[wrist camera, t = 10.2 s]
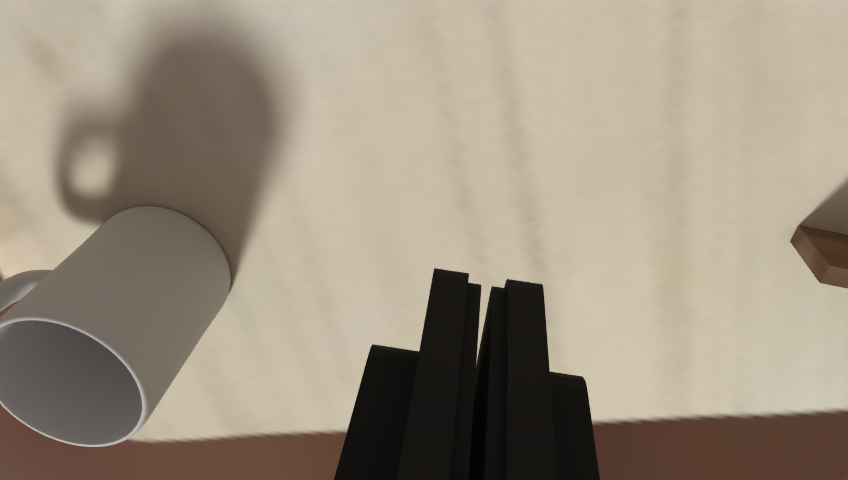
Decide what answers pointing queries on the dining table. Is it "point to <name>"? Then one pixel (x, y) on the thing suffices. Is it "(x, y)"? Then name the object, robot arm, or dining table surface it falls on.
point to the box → (823, 254)
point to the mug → (109, 326)
